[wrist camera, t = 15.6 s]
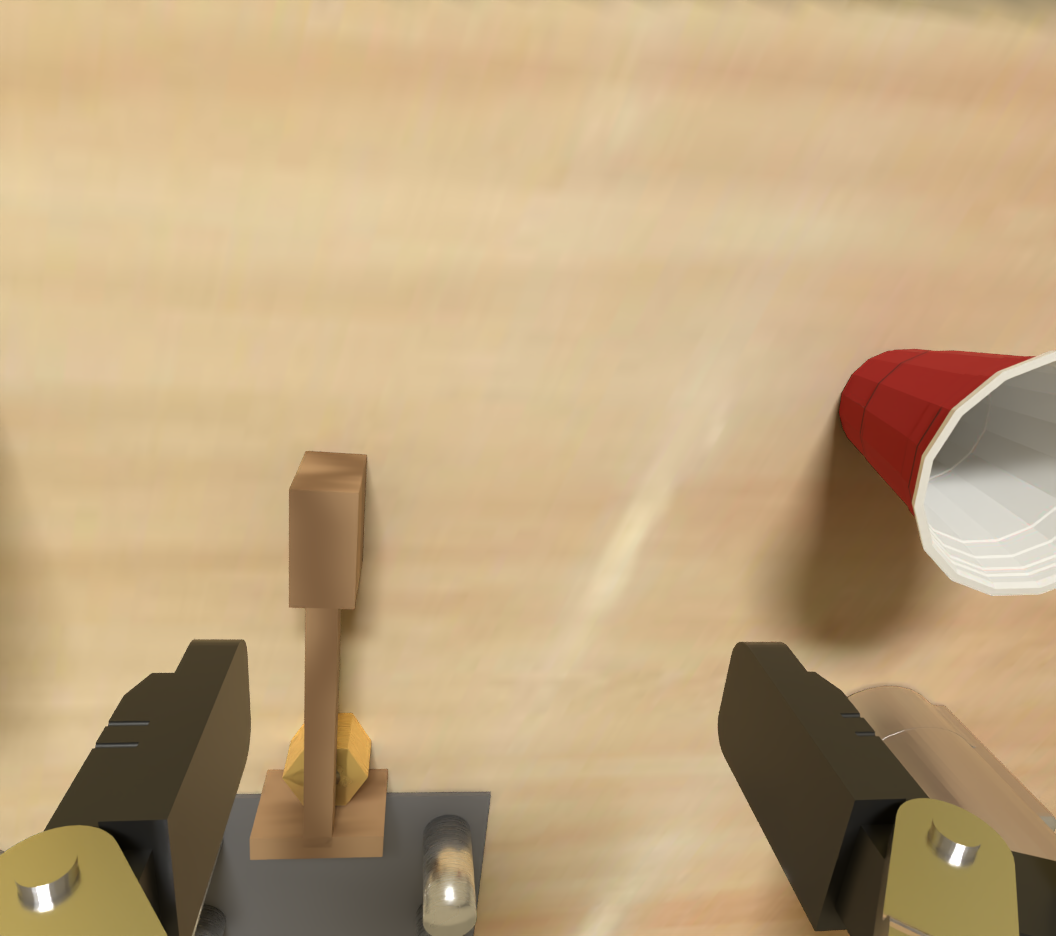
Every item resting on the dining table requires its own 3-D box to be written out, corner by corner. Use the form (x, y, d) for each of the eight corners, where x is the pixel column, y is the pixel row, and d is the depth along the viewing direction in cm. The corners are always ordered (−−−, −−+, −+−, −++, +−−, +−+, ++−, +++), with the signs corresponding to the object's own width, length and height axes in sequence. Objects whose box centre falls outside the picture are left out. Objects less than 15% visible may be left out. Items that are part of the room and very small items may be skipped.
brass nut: (372, 712, 44) (369, 749, 41) (370, 766, 45) (366, 805, 42) (291, 711, 43) (281, 749, 40) (291, 766, 44) (282, 806, 42)
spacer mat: (490, 791, 47) (490, 795, 47) (463, 1008, 54) (463, 1012, 53) (151, 795, 44) (149, 799, 43) (169, 1024, 51) (167, 1029, 50)
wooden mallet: (406, 457, 38) (403, 495, 34) (386, 788, 46) (382, 856, 41) (264, 448, 37) (241, 487, 32) (268, 789, 45) (250, 859, 40)
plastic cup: (782, 325, 38) (929, 385, 27) (980, 280, 39) (1204, 321, 28) (794, 512, 42) (926, 629, 31) (973, 469, 43) (1165, 569, 32)
